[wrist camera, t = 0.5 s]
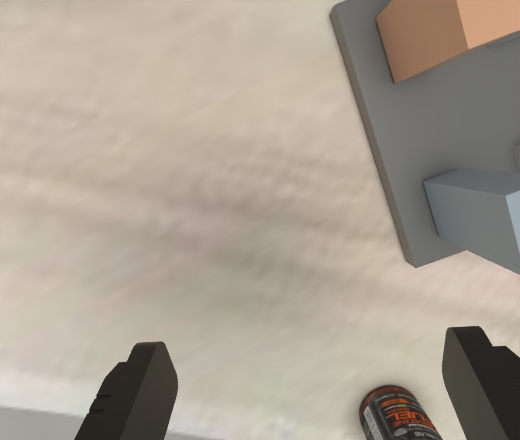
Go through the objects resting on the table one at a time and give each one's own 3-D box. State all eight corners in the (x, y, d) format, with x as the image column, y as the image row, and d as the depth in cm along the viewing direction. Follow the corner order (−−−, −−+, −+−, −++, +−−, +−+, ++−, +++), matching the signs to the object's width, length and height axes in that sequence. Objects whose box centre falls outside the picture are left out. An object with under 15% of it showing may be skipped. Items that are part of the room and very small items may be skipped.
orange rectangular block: (375, 18, 28) (442, -54, 18) (413, 3, 28) (502, -78, 18) (394, 84, 29) (468, 49, 19) (431, 69, 29) (525, 27, 19)
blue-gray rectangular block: (422, 181, 30) (505, 195, 20) (458, 168, 30) (558, 176, 20) (439, 237, 31) (525, 277, 21) (473, 224, 31) (576, 259, 21)
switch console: (329, 14, 30) (348, -19, 24) (497, -52, 29) (559, -103, 23) (406, 261, 34) (438, 284, 28) (556, 207, 33) (621, 219, 27)
